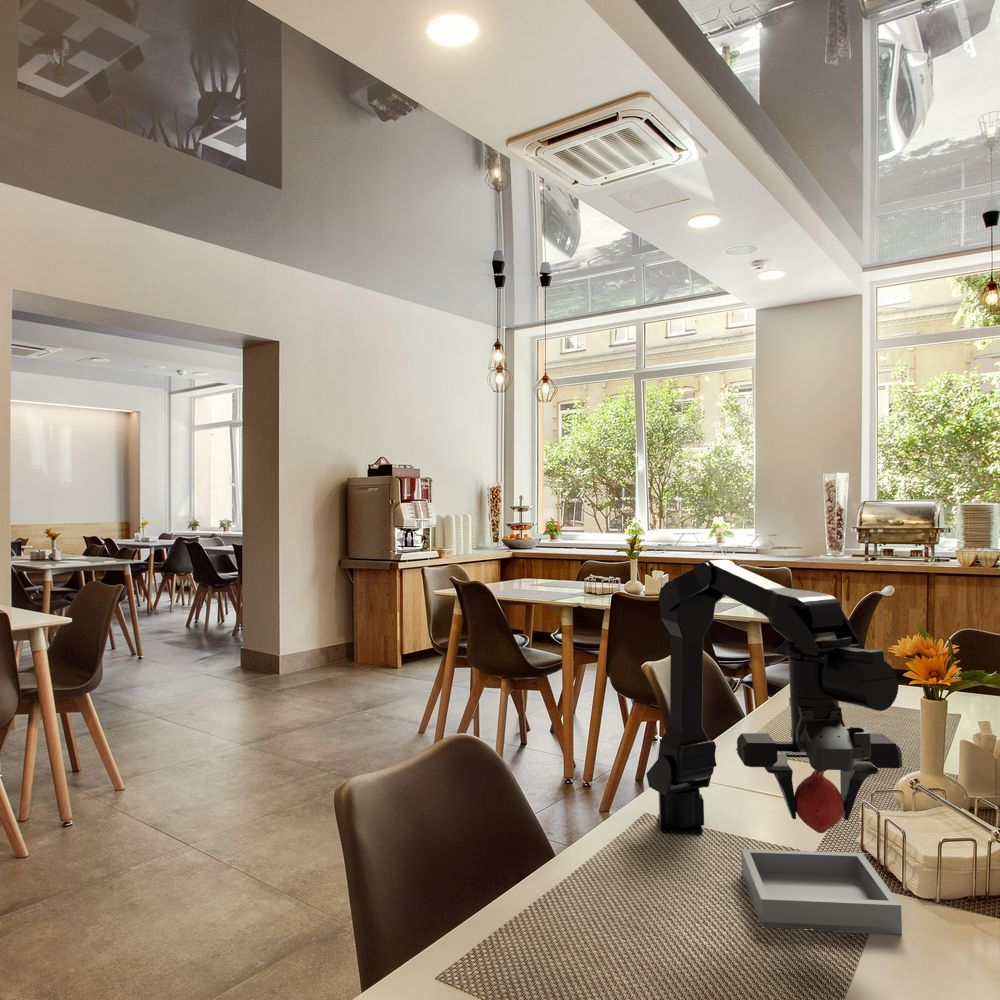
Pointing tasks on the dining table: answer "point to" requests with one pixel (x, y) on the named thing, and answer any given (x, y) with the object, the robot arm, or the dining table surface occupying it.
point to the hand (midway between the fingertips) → (819, 818)
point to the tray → (819, 892)
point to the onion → (818, 802)
